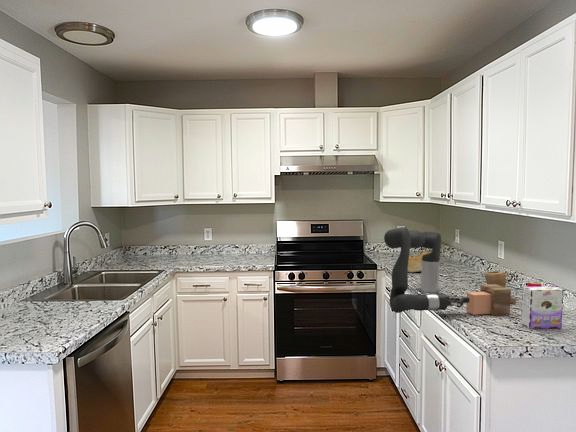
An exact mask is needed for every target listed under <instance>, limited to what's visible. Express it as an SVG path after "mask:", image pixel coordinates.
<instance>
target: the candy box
mask: <svg viewBox="0 0 576 432" xmlns="http://www.w3.org/2000/svg"><path fill="white" fill-rule="evenodd" d="M563 296H564V289H562V288H559V287H557V286H542V287H527V286H522V296H521V297H522V298H521V300H522V301H521V302H522V303H521V314H520V315H521V318H520V324H521V325H523V326H524V327H526V328H527V329H562V325H563V324H562V319H563V300H564V299H563V298H564V297H563Z"/></svg>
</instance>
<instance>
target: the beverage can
mask: <svg viewBox="0 0 576 432" xmlns="http://www.w3.org/2000/svg"><path fill="white" fill-rule="evenodd" d="M526 287H543V286H542V283H541V282H539V281H535V280H534V281H533V280H529V281H528V282H527V284H526Z"/></svg>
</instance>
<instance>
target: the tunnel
mask: <svg viewBox="0 0 576 432" xmlns="http://www.w3.org/2000/svg"><path fill="white" fill-rule="evenodd" d="M485 291H488V292H491V293H492V311H491V314H490V315H492V316H493V317H495V316H496V317H501V316H511V303H510V301H511V297H512V296H511V295H512V289H511V288H509V287H506V286H505V287H503V286H500V285H497V284H487V283H485V284H480V290H479V292H485Z"/></svg>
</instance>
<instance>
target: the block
mask: <svg viewBox="0 0 576 432" xmlns="http://www.w3.org/2000/svg"><path fill="white" fill-rule="evenodd" d="M466 297H467V298H469V303H465V304H466V307H465V311H466V312H467V313H469V314H471V315H473V316H476V315H491V311H492V293H491V292H488V291H485V292H480V291H468V292H466Z"/></svg>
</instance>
